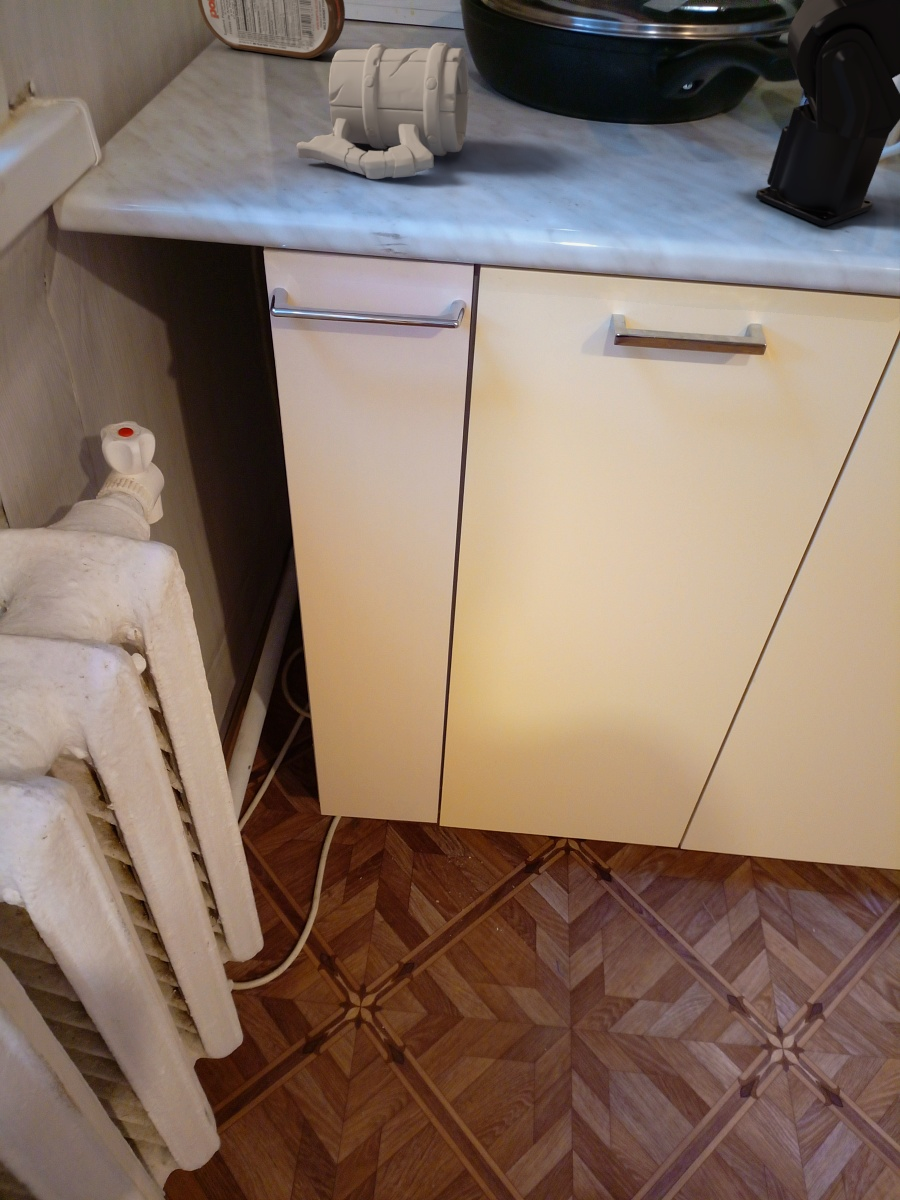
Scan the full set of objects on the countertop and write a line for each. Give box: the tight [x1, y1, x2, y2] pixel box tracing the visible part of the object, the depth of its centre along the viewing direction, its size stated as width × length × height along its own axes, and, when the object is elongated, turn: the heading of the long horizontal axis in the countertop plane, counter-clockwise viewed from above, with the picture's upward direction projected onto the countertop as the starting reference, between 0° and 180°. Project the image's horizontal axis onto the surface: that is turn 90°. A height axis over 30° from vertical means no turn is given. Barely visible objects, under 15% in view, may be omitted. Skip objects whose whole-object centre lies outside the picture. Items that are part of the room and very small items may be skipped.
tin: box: [196, 0, 346, 60], centre depth 85 cm, size 15×3×8 cm, turn 74°
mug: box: [296, 42, 470, 180], centre depth 67 cm, size 8×12×12 cm
